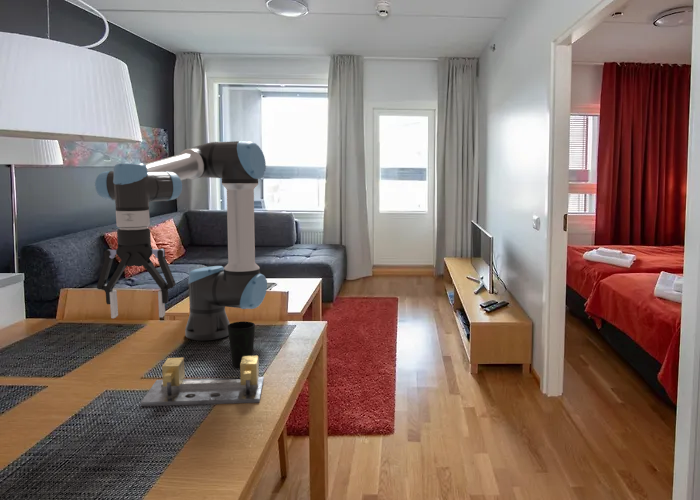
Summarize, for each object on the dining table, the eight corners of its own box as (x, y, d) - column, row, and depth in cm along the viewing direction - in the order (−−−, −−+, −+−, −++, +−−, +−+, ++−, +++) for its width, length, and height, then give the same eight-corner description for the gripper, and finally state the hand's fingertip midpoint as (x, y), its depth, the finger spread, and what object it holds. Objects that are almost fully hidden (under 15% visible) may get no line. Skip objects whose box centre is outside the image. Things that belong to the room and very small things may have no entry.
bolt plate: (156, 383, 144) (156, 379, 144) (263, 380, 146) (263, 376, 146) (141, 406, 130) (140, 402, 130) (259, 402, 132) (259, 398, 132)
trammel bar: (165, 383, 141) (164, 358, 140) (259, 381, 143) (258, 355, 142) (155, 399, 132) (153, 371, 131) (255, 396, 134) (255, 368, 133)
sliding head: (169, 382, 141) (168, 357, 140) (185, 381, 141) (183, 357, 140) (159, 397, 132) (158, 371, 131) (176, 397, 132) (175, 371, 131)
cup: (249, 371, 153) (248, 329, 151) (224, 369, 154) (223, 328, 153) (259, 361, 160) (258, 322, 159) (235, 359, 162) (234, 320, 160)
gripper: (77, 229, 127) (83, 321, 130) (179, 229, 129) (183, 319, 132) (89, 226, 134) (95, 313, 138) (185, 225, 136) (189, 311, 140)
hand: (138, 316), depth 135 cm, fingers open, 11 cm apart
